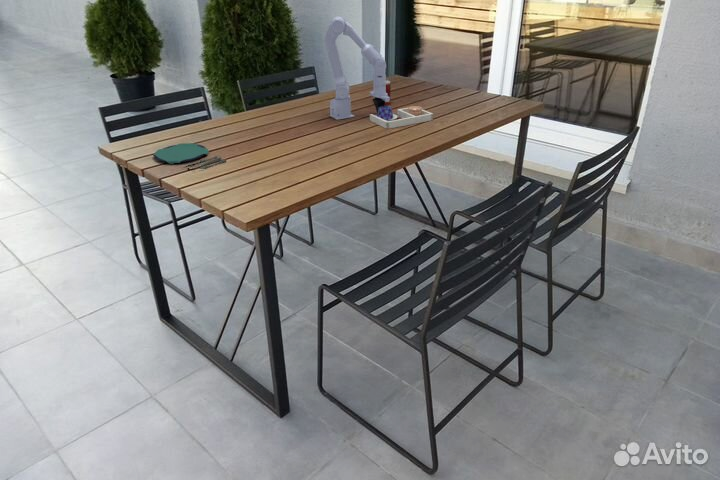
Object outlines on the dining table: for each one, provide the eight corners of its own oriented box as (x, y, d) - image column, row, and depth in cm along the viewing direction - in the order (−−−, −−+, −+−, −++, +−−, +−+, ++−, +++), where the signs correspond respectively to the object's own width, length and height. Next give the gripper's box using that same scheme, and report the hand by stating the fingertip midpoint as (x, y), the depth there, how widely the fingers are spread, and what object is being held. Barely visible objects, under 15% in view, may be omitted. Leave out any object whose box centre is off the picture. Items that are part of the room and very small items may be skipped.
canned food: (390, 105, 276) (390, 83, 271) (374, 105, 276) (374, 83, 271) (390, 101, 283) (390, 79, 277) (374, 101, 283) (374, 80, 278)
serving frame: (386, 128, 241) (387, 122, 240) (369, 120, 253) (369, 114, 252) (432, 120, 252) (433, 113, 251) (414, 112, 264) (414, 106, 262)
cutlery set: (190, 144, 228) (190, 139, 227) (232, 162, 210) (231, 156, 208) (146, 157, 216) (145, 152, 214) (185, 177, 197) (184, 172, 196)
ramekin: (412, 120, 252) (413, 110, 249) (404, 117, 257) (405, 107, 254) (424, 118, 255) (425, 108, 252) (416, 115, 260) (416, 105, 257)
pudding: (376, 122, 250) (376, 111, 247) (369, 115, 260) (369, 104, 257) (401, 120, 252) (401, 109, 250) (393, 113, 263) (393, 102, 260)
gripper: (395, 86, 249) (394, 115, 255) (378, 80, 260) (378, 108, 267) (382, 88, 246) (382, 118, 252) (366, 82, 257) (366, 111, 264)
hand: (379, 113), depth 259 cm, fingers closed
